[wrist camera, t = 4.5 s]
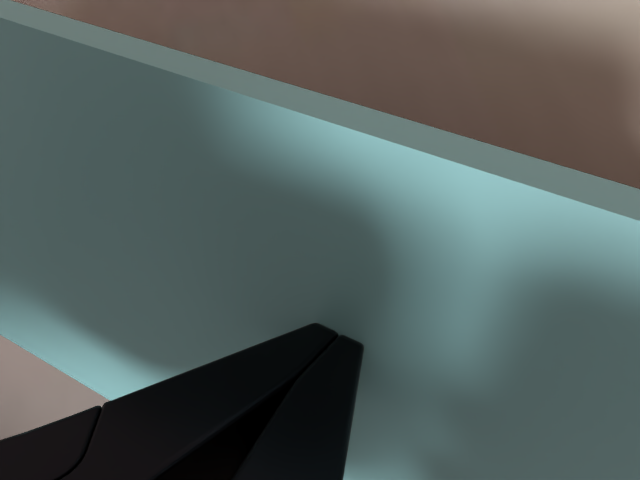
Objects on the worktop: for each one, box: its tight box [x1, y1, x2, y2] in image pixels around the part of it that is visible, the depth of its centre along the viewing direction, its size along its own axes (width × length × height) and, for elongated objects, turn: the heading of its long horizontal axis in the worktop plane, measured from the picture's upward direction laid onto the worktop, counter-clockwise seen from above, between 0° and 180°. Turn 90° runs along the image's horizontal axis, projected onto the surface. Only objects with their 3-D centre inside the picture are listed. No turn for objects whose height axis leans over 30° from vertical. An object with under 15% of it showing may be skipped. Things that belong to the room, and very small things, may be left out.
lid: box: [0, 0, 640, 480], centre depth 9 cm, size 8×18×1 cm
